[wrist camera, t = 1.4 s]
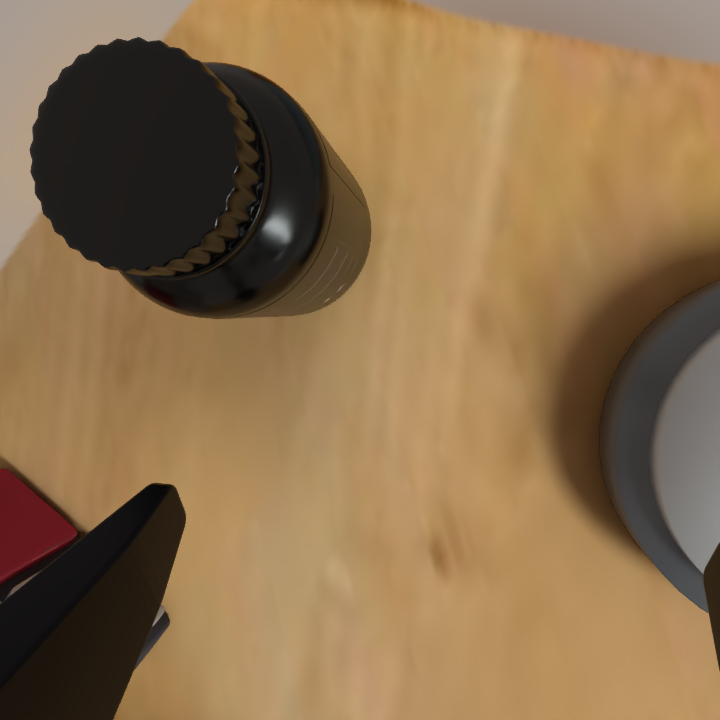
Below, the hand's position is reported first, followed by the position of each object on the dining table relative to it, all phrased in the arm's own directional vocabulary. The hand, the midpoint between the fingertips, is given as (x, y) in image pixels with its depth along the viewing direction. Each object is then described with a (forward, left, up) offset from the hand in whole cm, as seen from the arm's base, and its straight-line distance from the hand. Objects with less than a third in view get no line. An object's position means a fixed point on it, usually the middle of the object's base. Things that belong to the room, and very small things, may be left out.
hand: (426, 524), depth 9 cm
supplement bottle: (+2, +9, -14) cm, 17 cm away
